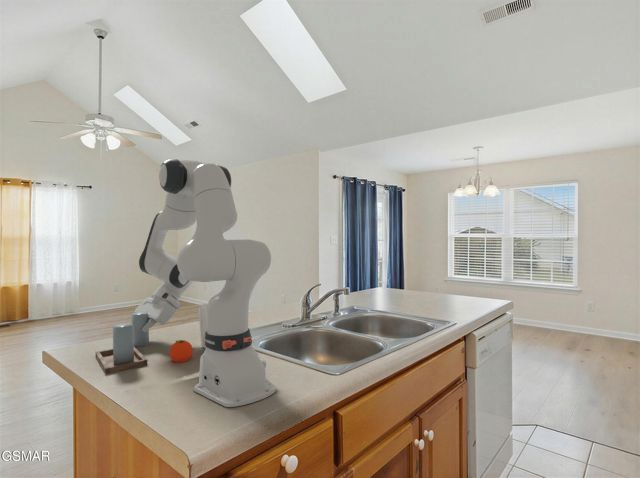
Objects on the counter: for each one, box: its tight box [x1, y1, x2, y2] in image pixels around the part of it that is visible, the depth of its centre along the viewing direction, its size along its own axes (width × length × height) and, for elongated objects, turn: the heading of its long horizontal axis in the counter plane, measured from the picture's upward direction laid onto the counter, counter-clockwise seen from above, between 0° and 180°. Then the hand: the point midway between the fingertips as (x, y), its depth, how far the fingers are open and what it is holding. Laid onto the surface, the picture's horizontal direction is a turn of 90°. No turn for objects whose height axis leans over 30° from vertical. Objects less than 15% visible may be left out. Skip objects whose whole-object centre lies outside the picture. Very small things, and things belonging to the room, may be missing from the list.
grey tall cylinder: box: [112, 322, 134, 366], centre depth 110 cm, size 6×6×12 cm
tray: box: [95, 347, 148, 375], centre depth 114 cm, size 19×11×2 cm, turn 39°
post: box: [131, 312, 150, 348], centre depth 130 cm, size 6×6×12 cm
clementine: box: [169, 339, 194, 363], centre depth 114 cm, size 8×7×7 cm
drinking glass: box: [198, 303, 208, 349], centre depth 130 cm, size 7×7×15 cm
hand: (138, 329), depth 129 cm, fingers closed on post, 5 cm apart
